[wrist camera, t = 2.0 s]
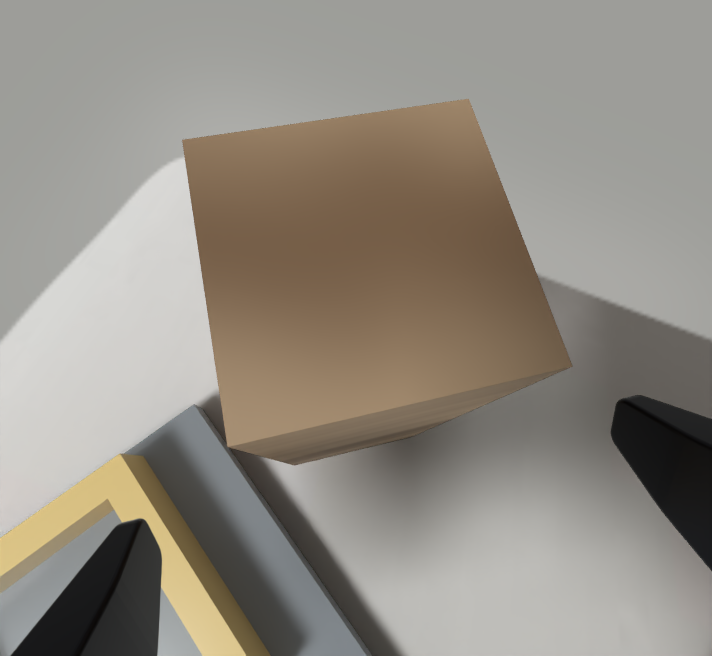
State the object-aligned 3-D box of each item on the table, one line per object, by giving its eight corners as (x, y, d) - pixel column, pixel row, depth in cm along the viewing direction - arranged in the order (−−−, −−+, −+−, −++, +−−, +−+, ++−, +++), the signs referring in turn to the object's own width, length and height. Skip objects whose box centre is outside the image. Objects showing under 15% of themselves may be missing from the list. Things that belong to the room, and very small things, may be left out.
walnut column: (411, 436, 19) (572, 367, 7) (294, 465, 18) (227, 447, 6) (382, 326, 20) (468, 99, 8) (272, 349, 20) (181, 139, 7)
